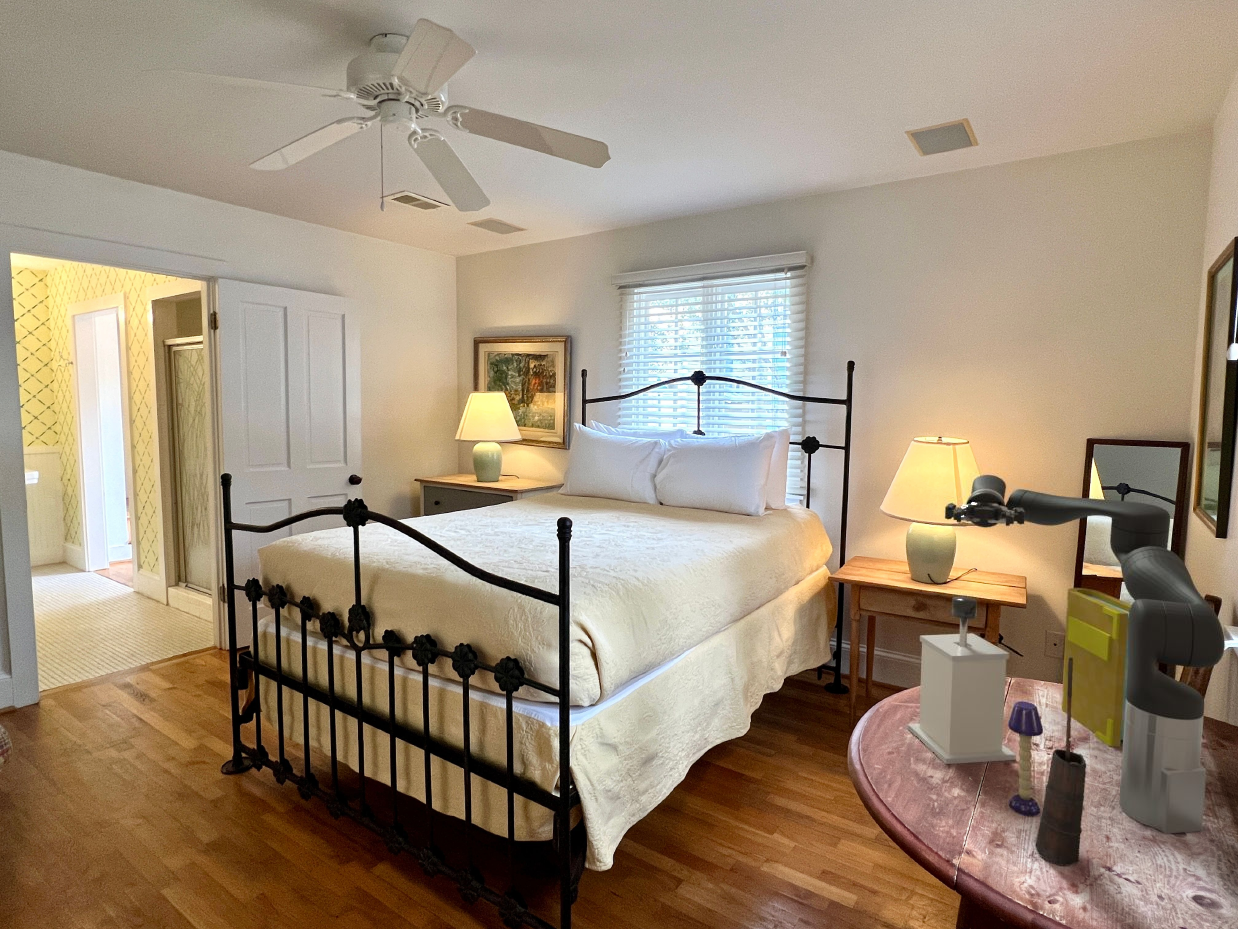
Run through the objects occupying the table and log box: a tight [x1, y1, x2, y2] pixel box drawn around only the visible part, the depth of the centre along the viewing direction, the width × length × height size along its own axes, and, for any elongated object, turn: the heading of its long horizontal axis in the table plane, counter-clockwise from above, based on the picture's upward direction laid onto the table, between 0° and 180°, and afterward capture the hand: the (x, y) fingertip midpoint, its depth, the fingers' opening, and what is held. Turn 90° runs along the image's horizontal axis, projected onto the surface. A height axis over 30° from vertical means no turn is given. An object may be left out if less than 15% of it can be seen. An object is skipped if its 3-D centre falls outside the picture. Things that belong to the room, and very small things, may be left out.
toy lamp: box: [1007, 700, 1044, 817], centre depth 106 cm, size 5×5×17 cm
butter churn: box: [1035, 657, 1087, 867], centre depth 94 cm, size 9×10×28 cm
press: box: [907, 633, 1017, 765], centre depth 126 cm, size 13×13×19 cm
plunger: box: [951, 595, 978, 647], centre depth 126 cm, size 8×8×26 cm
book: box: [1061, 587, 1132, 747], centre depth 133 cm, size 17×7×25 cm, turn 179°
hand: (983, 519), depth 135 cm, fingers open, 8 cm apart
